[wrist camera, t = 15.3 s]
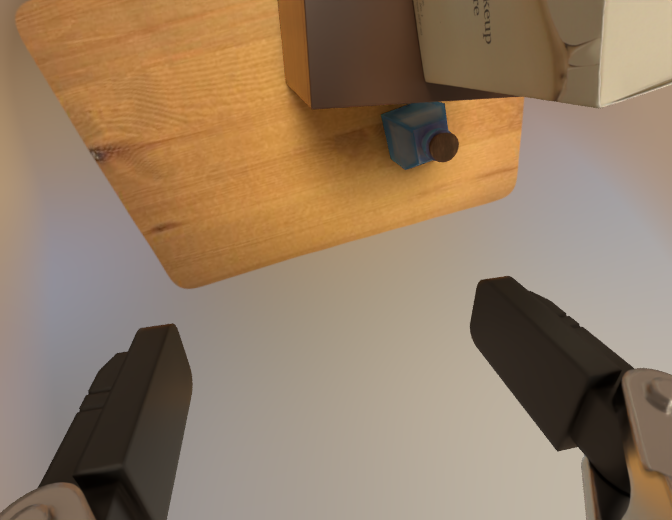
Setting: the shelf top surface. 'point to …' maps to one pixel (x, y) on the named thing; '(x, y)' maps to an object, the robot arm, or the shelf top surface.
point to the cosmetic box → (548, 47)
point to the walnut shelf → (358, 55)
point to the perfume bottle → (419, 134)
